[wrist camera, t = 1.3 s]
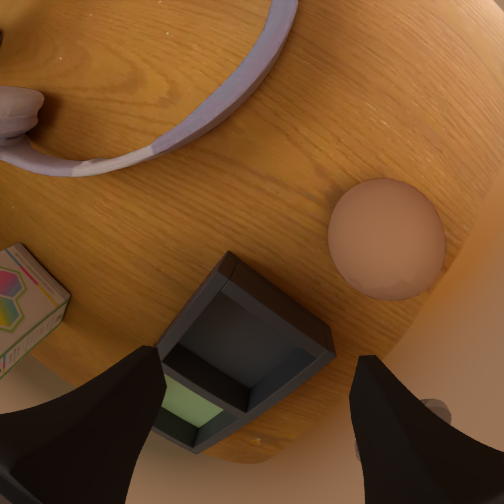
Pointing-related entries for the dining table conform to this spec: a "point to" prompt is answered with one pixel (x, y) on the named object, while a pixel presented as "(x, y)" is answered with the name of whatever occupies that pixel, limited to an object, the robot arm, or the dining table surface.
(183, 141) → the headphones
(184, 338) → the divided tray
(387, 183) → the egg
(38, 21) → the dining table surface
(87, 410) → the robot arm
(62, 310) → the ink box
